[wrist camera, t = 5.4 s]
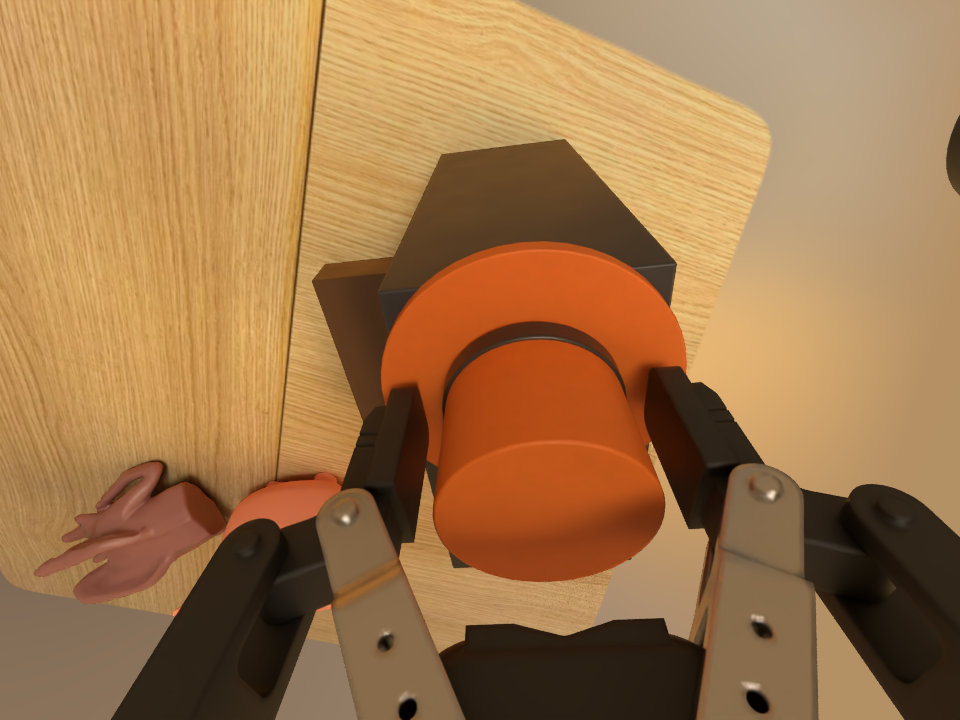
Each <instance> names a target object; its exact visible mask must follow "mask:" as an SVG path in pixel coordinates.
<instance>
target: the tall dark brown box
mask: <svg viewBox="0 0 960 720" xmlns="http://www.w3.org/2000/svg"><path fill="white" fill-rule="evenodd" d="M539 241H547V242H559V243H569V244H574V245H578V246H583V247H587V248H591V249H594V250H596V251H599V252H602V253H605V254H607V255H610V256H612V257H614V258H616V259H618V260H619V261H621V262H623V263H625V264H627V265H629V266H630V267H632V268H633V269H634V270H635V271H637V272H638V273H639V274H641V275H642V276H643V277H645V278H646V279H647V280H648V281H649V282H650V283H651V284H652V285H653V287H654V288H655V289H656V290H657V291H658V292H659V293H660V295H661V296H662V297H663V299H664V300H665V302H666V303H667V305H668V306H669V308H670V305H671V298H672V292H673V285H674V279H675V272H676V266H677V264H676V262H675V260H674V259H673V258H672V257H671V256H670V255H669V254H668V253H667V252H666V250H665V249H664V248H663V247H662V246H661V245H660V244H659V243H658V242H657V240H656V239H655V238H654V237H653V236H652V235H651V234H650V233H649V232H648V231H647V229H646V228H645V227H644V226H643V225H642V224H641V223H640V222H639V221H638V219H637V218H636V217H635V216H634V215H633V214H632V213H631V212H630V211H629V209H628V208H627V207H626V206H625V205H624V204H623V203H622V202H621V201H620V200H619V198H618V197H617V196H616V195H615V194H614V193H613V192H612V191H611V190H610V188H609V187H608V186H607V185H606V184H605V183H604V182H603V181H602V180H601V178H600V177H599V176H598V175H597V174H596V173H595V172H594V171H593V170H592V169H591V167H590V166H589V165H588V164H587V163H586V162H585V161H584V160H583V159H582V157H581V156H580V155H579V154H578V153H577V152H576V151H575V150H574V149H573V147H572V146H571V145H570V144H569V143H568V142H567V141H566V140H565V139H563V140H555V141H547V142H539V143H530V144H522V145H514V146H506V147H498V148H490V149H482V150H474V151H465V152H457V153H449V154H442V155H441V157H440V159H439V162H438V164H437V166H436V168H435V170H434V172H433V174H432V177H431V179H430V181H429V183H428V185H427V187H426V190H425V192H424V194H423V196H422V198H421V200H420V202H419V205H418V207H417V209H416V211H415V213H414V215H413V217H412V220H411V222H410V224H409V226H408V228H407V230H406V232H405V235H404V237H403V239H402V241H401V243H400V245H399V248H398V250H397V252H396V254H395V256H394V258H393V260H392V263H391V265H390V267H389V269H388V271H387V273H386V275H385V278H384V280H383V282H382V284H381V286H380V288H379V290H378V297H379V301H380V304H381V308H382V311H383V315H384V319H385V322H386V326H387V330H388V333H389V334H390V331H391V329H392V327H393V325H394V323H395V321H396V318H397V316H398V315H399V313H400V312H401V310H402V309H403V307H404V306H405V304H406V303H407V301H408V300H409V299H410V298H411V297H412V296H413V295H414V294H415V292H416V291H417V290H418V289H419V288H420V287H421V286H422V285H423V284H425V283H426V282H427V281H428V280H429V279H431V278H432V277H433V276H434V275H436V274H437V273H438V272H440V271H442V270H443V269H445V268H446V267H448V266H450V265H451V264H453V263H455V262H456V261H459V260H461V259H463V258H465V257H468V256H470V255H472V254H474V253H477V252H480V251H484V250H487V249H490V248H493V247H497V246H502V245H508V244H514V243H520V242H539ZM645 447H646V449H647V452H648V448H649V443H648V444H647V445H646V446H645ZM425 467H426V471H427V474H428V478H429V482H430V485H431V489H432V493H433V496H435V488H436V480H437V472H438V467H437V466H436V465H434V464H432V463H431V462H429V461H428V460H426V466H425ZM449 554H450V558H451V561H452V565H453V568H468V567H471V566H469V565H467V564H466V563H464V562H463V561H461V560H460V559H458V558H457V557H456V556H454V555H453V554H452V553H451V552H450V551H449ZM630 559H631V558H630ZM630 559H628V560H630Z"/></svg>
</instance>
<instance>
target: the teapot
mask: <svg viewBox="0 0 960 720" xmlns="http://www.w3.org/2000/svg"><path fill="white" fill-rule="evenodd" d="M340 490H341V486H340V485H339V484H337V479H336V478H335V477H334V476H333V475H331V474H329V473H318V474H317V475H316V476H315V478H314V480H301V481H290V482H284V483H281V482H277V481H272V482H269V483H268V484H267V485H266V488H263V489H260V490H258V491H256V492H254V493H252V494H250V495H249V496H247V497H246V498H245V499H244V500H242V501H241V502H240V503H239V504H238V505H237V506H236V508H235V510H234V512H233V513H232V515H231V517H230V520H229V522H228V524H227V527H226V530H225V532H224V536H223V539H222V541H223V540H224V539H225V538H226V536H227V535H228V534H229V533H231V532H232V531H233V530H234V529H236V528H237V527H238V526H240V525H242V524H244V523H246V522H248V521H251V520H254V519H259V518H266V519H271V520H273V521H274V522H276V523H277V525H278V526H279V528H280V529H281V528H284V527H287V526H289V525H292V524H295V523H298V522H301V521H304V520H307V519H309V518H312V517H314V516H316V515H317V514H318V512H319V509H320V508H321V507H322V505H323V504H324V503H325V502H326V501H327V500H328V499H329V498H330V497H332V496H333V495H335V494H336V493H338V492H340ZM180 608H181V607H179V608H178V609H176V610H175V611H174V612H173V615H174V616H176V614H177V613H178V611H179V610H180ZM330 608H331V604H330V605H328V606H325V607H323V608H320V609H318V610H316V612H318V611H322V610H326V609H330Z"/></svg>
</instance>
